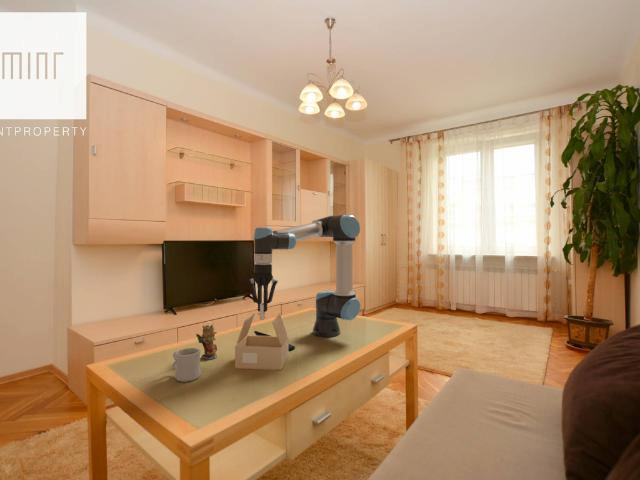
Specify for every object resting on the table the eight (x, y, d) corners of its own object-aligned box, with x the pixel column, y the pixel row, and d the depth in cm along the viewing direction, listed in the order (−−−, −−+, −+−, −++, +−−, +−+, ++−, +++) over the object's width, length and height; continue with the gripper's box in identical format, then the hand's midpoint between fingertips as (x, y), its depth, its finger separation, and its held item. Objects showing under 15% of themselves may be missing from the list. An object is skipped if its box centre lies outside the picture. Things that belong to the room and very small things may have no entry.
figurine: (221, 355, 150) (221, 322, 150) (210, 361, 143) (210, 327, 143) (204, 353, 153) (204, 320, 153) (192, 359, 146) (192, 325, 146)
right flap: (286, 335, 148) (278, 314, 148) (287, 335, 148) (280, 314, 148) (280, 345, 136) (272, 322, 136) (281, 345, 136) (273, 321, 136)
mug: (206, 375, 130) (205, 349, 130) (187, 384, 122) (187, 357, 121) (182, 369, 135) (182, 344, 135) (163, 378, 127) (163, 352, 127)
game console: (296, 349, 160) (296, 330, 160) (274, 357, 150) (274, 337, 149) (275, 342, 170) (275, 324, 170) (253, 348, 160) (253, 330, 160)
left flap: (246, 334, 150) (253, 313, 150) (247, 334, 150) (254, 313, 149) (236, 343, 137) (244, 320, 137) (237, 343, 137) (245, 321, 137)
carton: (246, 355, 151) (246, 335, 151) (288, 356, 150) (288, 336, 149) (235, 368, 136) (235, 346, 136) (281, 370, 135) (281, 348, 134)
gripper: (245, 264, 139) (244, 320, 139) (276, 264, 138) (275, 321, 138) (250, 262, 146) (250, 316, 147) (280, 263, 145) (279, 317, 146)
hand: (262, 319), depth 142 cm, fingers closed
